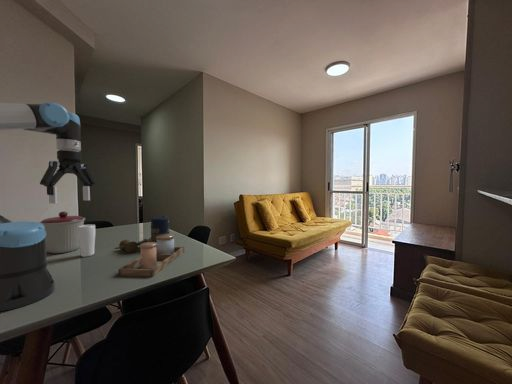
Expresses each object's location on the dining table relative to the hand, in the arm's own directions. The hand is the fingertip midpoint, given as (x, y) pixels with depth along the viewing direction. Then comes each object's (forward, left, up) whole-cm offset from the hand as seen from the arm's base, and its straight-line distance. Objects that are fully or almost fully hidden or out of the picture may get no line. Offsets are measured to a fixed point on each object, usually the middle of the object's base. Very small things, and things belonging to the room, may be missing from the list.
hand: (71, 201), depth 86 cm
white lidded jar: (+18, -31, -28) cm, 46 cm away
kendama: (+26, -10, -29) cm, 40 cm away
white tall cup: (+15, +8, -28) cm, 33 cm away
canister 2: (+31, -21, -28) cm, 47 cm away
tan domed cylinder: (+4, -31, -28) cm, 42 cm away
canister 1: (+21, +27, -28) cm, 44 cm away
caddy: (+10, -31, -28) cm, 43 cm away
